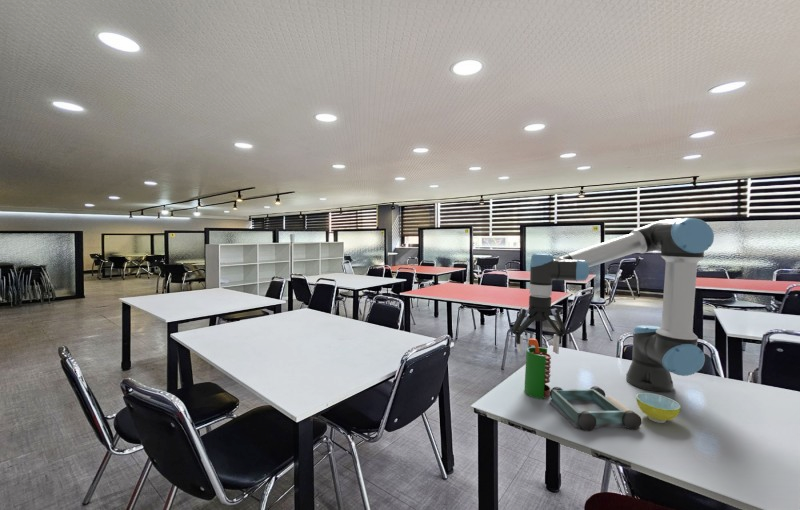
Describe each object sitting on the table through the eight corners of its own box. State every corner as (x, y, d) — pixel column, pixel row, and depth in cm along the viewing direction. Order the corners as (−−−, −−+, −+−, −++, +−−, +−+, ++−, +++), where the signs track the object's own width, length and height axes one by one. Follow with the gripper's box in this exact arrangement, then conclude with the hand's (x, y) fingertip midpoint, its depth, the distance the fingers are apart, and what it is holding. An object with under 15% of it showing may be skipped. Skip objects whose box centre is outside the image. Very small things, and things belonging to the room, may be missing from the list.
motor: (553, 400, 123) (555, 344, 122) (526, 397, 125) (528, 343, 124) (547, 387, 133) (548, 336, 132) (522, 385, 135) (524, 335, 134)
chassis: (602, 399, 124) (603, 386, 124) (642, 429, 105) (643, 413, 105) (548, 400, 123) (548, 386, 123) (578, 430, 104) (578, 414, 104)
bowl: (689, 427, 106) (690, 408, 106) (657, 430, 104) (658, 410, 104) (656, 409, 117) (657, 391, 117) (626, 411, 115) (627, 393, 115)
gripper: (567, 294, 132) (565, 349, 133) (503, 293, 130) (501, 349, 131) (579, 297, 124) (576, 356, 125) (510, 297, 123) (508, 356, 124)
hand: (537, 352), depth 128 cm, fingers open, 13 cm apart
